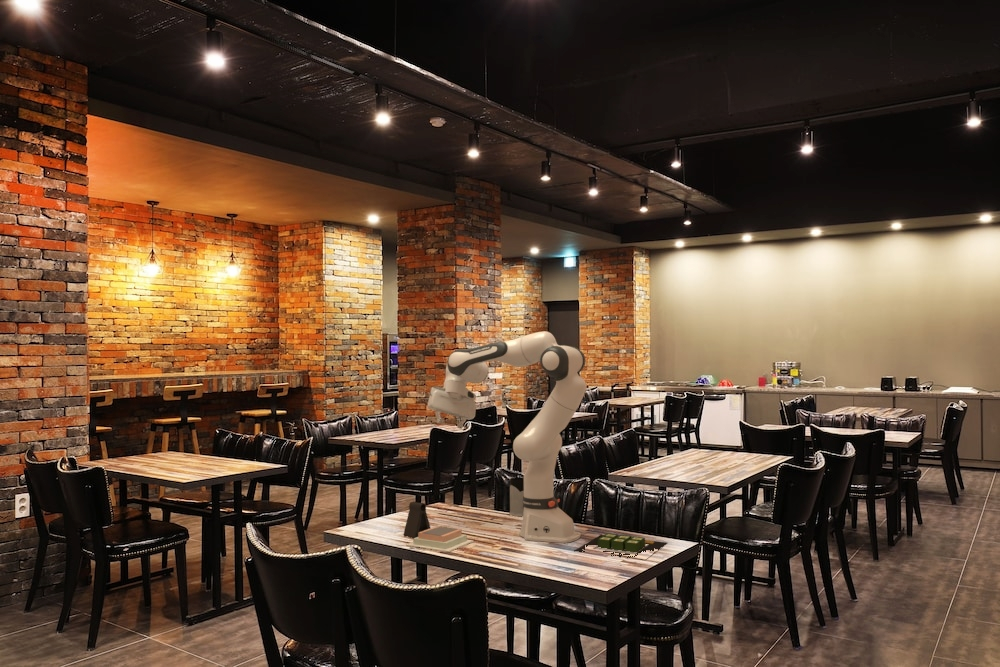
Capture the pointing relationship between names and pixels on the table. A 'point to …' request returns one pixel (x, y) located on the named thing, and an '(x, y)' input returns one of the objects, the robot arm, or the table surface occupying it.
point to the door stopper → (416, 520)
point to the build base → (440, 539)
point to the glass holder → (516, 496)
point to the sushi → (623, 544)
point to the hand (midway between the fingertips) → (449, 425)
